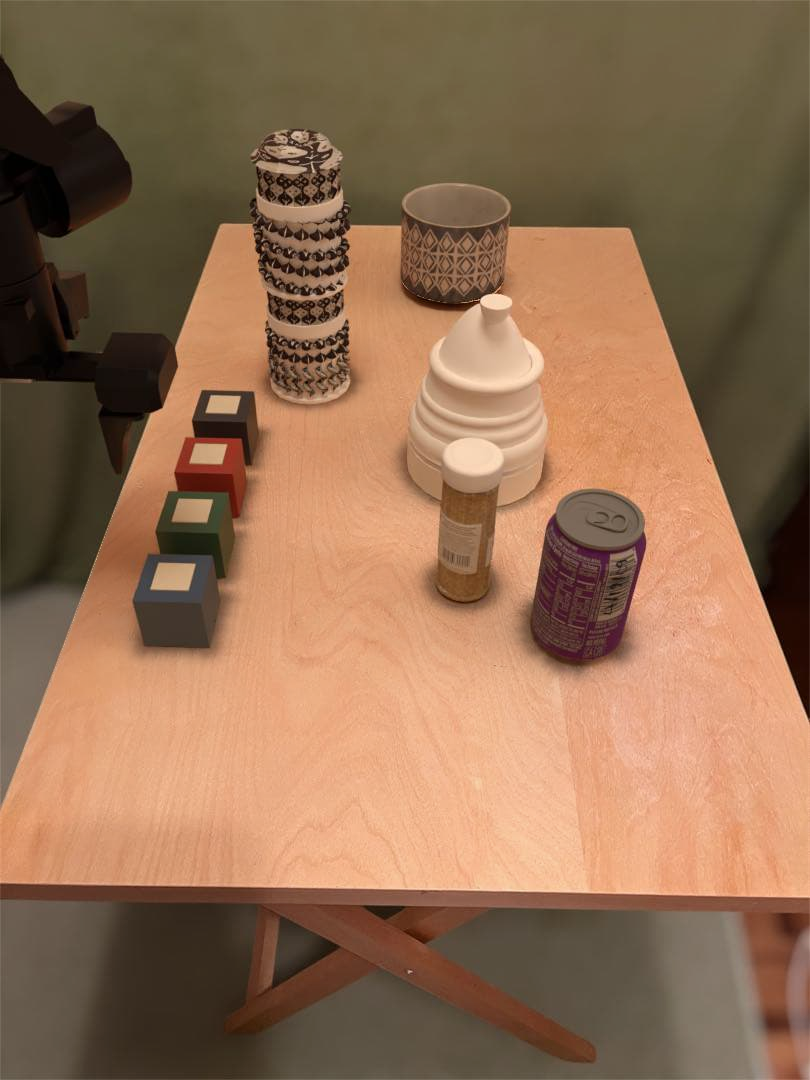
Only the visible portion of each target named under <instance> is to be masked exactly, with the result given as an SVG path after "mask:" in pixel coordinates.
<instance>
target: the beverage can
mask: <svg viewBox="0 0 810 1080" xmlns="http://www.w3.org/2000/svg"><path fill="white" fill-rule="evenodd" d="M645 519H646V518H645V516H644V513H643V511H642V510H641V509H640V507H639V506H638V505H637V504H636V503H635V502H634V501H633V500H631V499H630V498H628V497H626V496H624V495H622V494H620V493H618V492H616V491H612V490H608V489H604V488H603V489H602V488H583V489H578V490H577V489H576V490H574V491H572V492H570V493H567V494H566V495H565V496H563V497H562V498H561V499H560V500H559V502H558V503H557V506H556V509H555V512H554V513H553V514H552V516H551V517H550V518H549V520H548V522H547V524H546V527H545V532H544V538H543V544H542V549H541V555H540V560H539V561H540V563H539V566H538V572H537V579H536V584H535V591H534V596H533V603H532V607H531V608H532V609H531V613H530V628H531V630H532V633H533V635H534V636H535V638H536V639H537V641H539V643H540V644H541V645H542V646H543V647H544V648H546V650H549V651H550V652H552V653H554V654H555V655H558V656H560V657H563V658H565V659H569V660H574V661H575V660H577V661H590V660H592V661H593V660H596V659H597V660H598V659H601V658H603V657H606V656H607V655H609V654H611V653H612V652H613V651H614V650H616V648H617V647H618V646H619V645H620V643H621V641H622V639H623V634H624V630H625V626H626V623H627V619H628V617H629V616H628V615H629V612H630V609H631V605H632V601H633V598H634V593H635V590H636V586H637V584H638V580H639V575H640V571H641V568H642V565H643V561H644V558H645V554H646V550H647V536H646V533H645V526H646V520H645Z"/></svg>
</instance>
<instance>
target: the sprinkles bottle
mask: <svg viewBox="0 0 810 1080" xmlns="http://www.w3.org/2000/svg"><path fill="white" fill-rule="evenodd" d="M503 470H504V455H503V453H502V451H501V450H500V449H499V447H498V446H496V445H495V444H493V443H492V442H489V441H487V440H484V439H479V438H463V439H459V440H456V441H454V442H452V443H450V444H449V445H448V446H447V447H446V448H445V449H444V451H443V454H442V462H441V475H442V479H443V485H442V499H441V501H440V505H439V506H440V507H439V522H438V524H439V526H438V539H437V541H438V543H437V569H436V570H437V571H436V574H435V585H436V588H437V589H438V591H439V592H440V593H441V595H443V596H444V597H446V598H448V599H450V600H453V601H457V602H464V603H467V602H472V601H477V600H479V599H481V598H482V597H483V596H485V595H486V594H487V592H488V590H489V588H490V586H491V575H490V573H491V564H492V560H493V554H494V545H495V544H494V543H495V535H496V522H497V521H496V519H497V518H496V517H497V507H498V506H497V500H498V489H499V484H500V482H501V480H502V478H503Z"/></svg>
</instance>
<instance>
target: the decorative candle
mask: <svg viewBox="0 0 810 1080" xmlns="http://www.w3.org/2000/svg"><path fill="white" fill-rule="evenodd" d="M343 158H344V156H343V154H342V151H341V150H340V149H338V148H336V147H335V146H333V145H332V143H331V141H330V140H329V138H328V137H327V136H326V135H324V134H322V133H321V132H318V131H315V130H312V129H311V130H310V129H305V128H287V129H281V130H278V131H274V132H272V133H270V134H268V135H267V136H266V137H265V138H264V139H263V140H262V142H261V143H260V145H259V147H258V148H255V149H254V151H253V152H252V153H251V154H250V160H251V163H252V164H253V165H255V175H256V183H257V187H256V188H255V196H256V197H254V198H253V197H252V198H251V200H250V201H249V204H248V205H249V207H250V209H249V215H250V216H251V217H252V218H254V222H253V223H252V224H251V225H252V226H251V227H252V230H254V231H253V237H254V243H255V246H254V251H255V252H256V253H257V254H258V259H257V264H258V266H259V267H258V273H259V274H260V281H261V286H262V288H263V289H264V290H265V291H266V296H267V304H266V306H265V307H266V318H267V320H266V321H265V328H264V332H265V334H266V335H267V336H266V347H267V348H269V349H268V351H267V358H266V359H267V363H268V367H269V368H268V375H269V377H270V379H269V380H270V386H271V391H272V392H273V393H274V394H275V395H276V396H277V397H278V398H279V399H281V400H285V401H287V402H290V403H292V404H299V405H307V406H308V405H320V404H325V403H328V402H331V401H333V400H336V399H337V400H338V398H340V397H342V395H344V394H345V393H346V392H347V391H348V389H349V387H350V384H351V377H350V375H349V374H350V373H351V369H350V368H348V367H349V366H350V365H351V363H350V361H351V356H350V355H349V354H350V351H351V350H350V348H348V346H349V345H350V343H351V342H350V339H349V337H350V334H349V331H350V325H349V324H350V322H349V319H348V318H347V307H346V304H345V300H344V299H345V292H344V289H345V287H346V285H347V283H348V281H349V277H348V276H349V275H348V273H347V271H346V268H347V267H349V265H350V260H349V256H348V255H347V252H348V251H349V250H350V249H351V244H350V243H349V240H348V239H347V238H346V237H344V236H345V235H346V234H347V232H349V231H350V230H351V227H352V226H351V223H350V220H349V219H348V218H347V216H348V215H349V214H350V213H351V211H352V207H351V206H350V203H349V202H348V201H347V200H345V199H344V190H343V187H342V184H341V183H342V182H341V181H342V180H341V178H342V177H341V161H342V160H343ZM258 212H259V213H258Z"/></svg>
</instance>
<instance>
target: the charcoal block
mask: <svg viewBox="0 0 810 1080" xmlns="http://www.w3.org/2000/svg"><path fill="white" fill-rule="evenodd" d="M255 395H256V394H255V391H253V390H220V389H202V390H201V391H200V394H199V397H198V400H197V403H196V406H195V409H194V412H193V415H192V419H191V425H192V430H193V437H195V438H234V439H242V446H243V454H244V462H245V466H252V464H253V461H254V460H253V459H254V456H255V452H256V448H257V444H258V438H259V435H260V434H259V424H258V415H257V414H258V413H257V405H256V396H255Z"/></svg>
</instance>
